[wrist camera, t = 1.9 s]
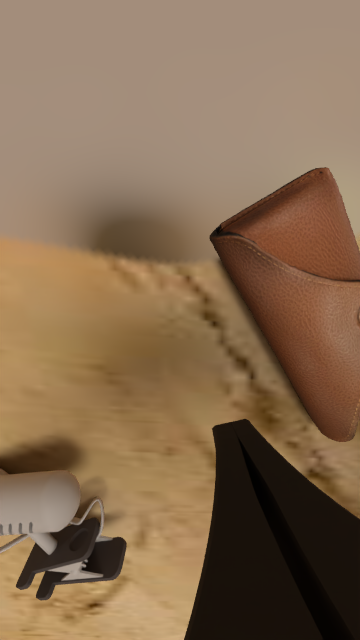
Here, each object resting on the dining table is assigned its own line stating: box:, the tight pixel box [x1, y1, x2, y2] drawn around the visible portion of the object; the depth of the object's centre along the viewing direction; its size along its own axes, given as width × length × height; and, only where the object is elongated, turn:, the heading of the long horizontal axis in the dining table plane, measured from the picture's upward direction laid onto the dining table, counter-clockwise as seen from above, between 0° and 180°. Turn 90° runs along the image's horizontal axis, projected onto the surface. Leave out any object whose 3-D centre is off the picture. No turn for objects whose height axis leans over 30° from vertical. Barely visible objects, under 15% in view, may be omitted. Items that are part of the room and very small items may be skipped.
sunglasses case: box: [210, 167, 360, 442], centre depth 19 cm, size 18×7×7 cm
